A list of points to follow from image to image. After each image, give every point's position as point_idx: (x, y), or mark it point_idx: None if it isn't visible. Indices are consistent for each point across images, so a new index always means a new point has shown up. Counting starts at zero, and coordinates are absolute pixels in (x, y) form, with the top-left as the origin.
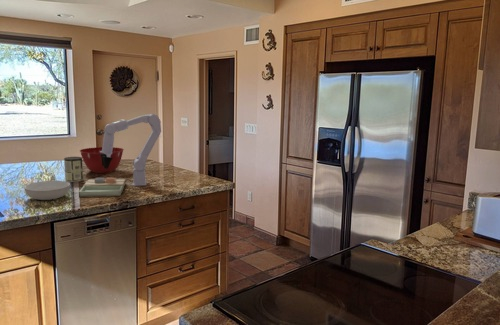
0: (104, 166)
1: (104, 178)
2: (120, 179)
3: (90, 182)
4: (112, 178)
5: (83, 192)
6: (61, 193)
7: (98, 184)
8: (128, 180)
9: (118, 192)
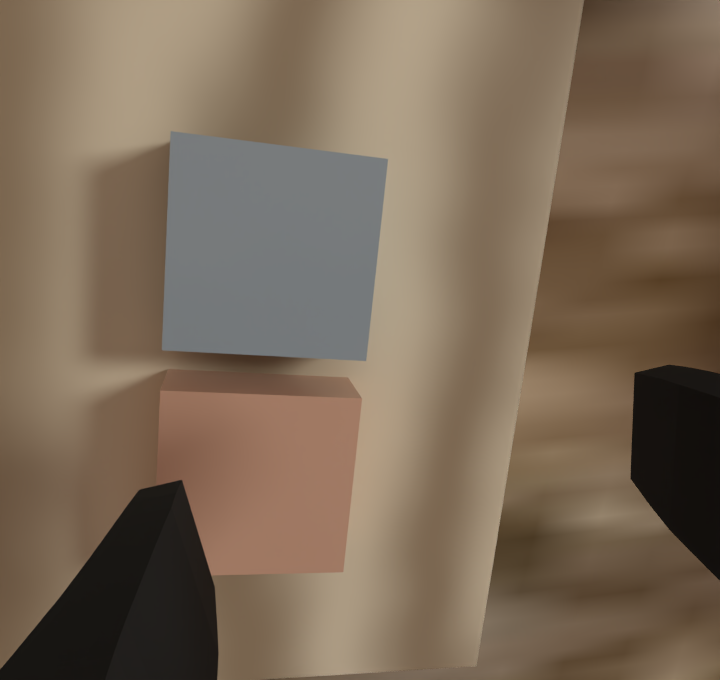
0: (108, 546)
1: (295, 356)
2: (428, 600)
3: (243, 44)
4: (254, 524)
5: None
6: None
7: (9, 232)
8: (628, 626)
9: None
